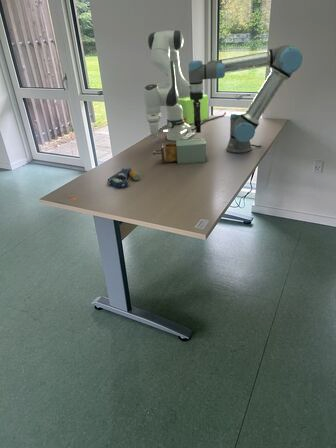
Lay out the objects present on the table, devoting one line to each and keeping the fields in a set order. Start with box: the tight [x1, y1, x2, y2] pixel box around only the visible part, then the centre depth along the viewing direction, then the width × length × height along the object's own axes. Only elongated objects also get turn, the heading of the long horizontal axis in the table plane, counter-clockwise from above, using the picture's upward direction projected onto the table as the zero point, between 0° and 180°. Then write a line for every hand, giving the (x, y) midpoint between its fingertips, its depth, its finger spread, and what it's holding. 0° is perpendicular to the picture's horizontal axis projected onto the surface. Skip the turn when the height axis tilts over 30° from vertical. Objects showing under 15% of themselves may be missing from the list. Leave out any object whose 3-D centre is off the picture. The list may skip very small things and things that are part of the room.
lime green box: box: [177, 93, 210, 126], centre depth 283 cm, size 25×21×23 cm
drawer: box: [152, 142, 177, 164], centre depth 205 cm, size 22×9×9 cm, turn 90°
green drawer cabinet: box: [175, 137, 207, 165], centre depth 205 cm, size 17×10×11 cm, turn 90°
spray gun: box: [106, 167, 141, 189], centre depth 186 cm, size 21×4×15 cm
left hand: (156, 138), depth 201 cm, fingers closed
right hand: (197, 129), depth 198 cm, fingers open, 13 cm apart
